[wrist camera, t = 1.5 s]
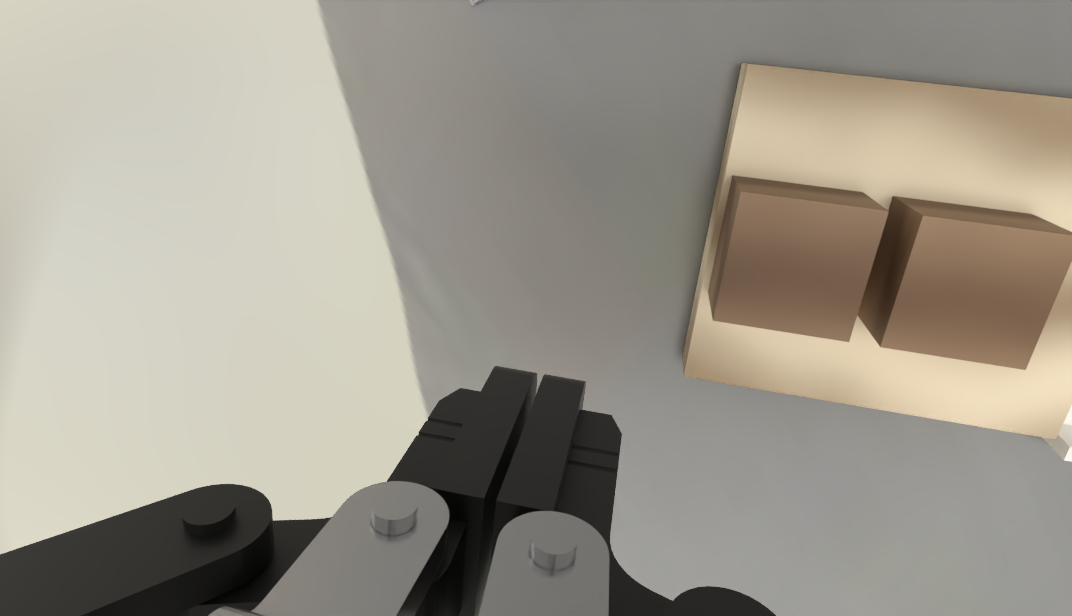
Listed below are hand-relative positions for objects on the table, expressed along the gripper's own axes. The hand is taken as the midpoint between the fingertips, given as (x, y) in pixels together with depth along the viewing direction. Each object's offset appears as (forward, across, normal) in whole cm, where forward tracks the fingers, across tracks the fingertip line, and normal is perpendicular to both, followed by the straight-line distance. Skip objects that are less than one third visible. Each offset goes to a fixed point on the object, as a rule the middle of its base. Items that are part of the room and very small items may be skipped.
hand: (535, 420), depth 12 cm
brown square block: (+15, -6, 0) cm, 16 cm away
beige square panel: (+17, -11, 0) cm, 20 cm away
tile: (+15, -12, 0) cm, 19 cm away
